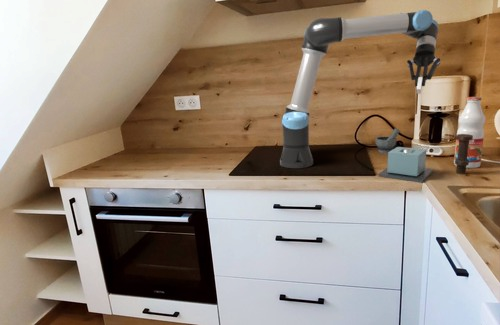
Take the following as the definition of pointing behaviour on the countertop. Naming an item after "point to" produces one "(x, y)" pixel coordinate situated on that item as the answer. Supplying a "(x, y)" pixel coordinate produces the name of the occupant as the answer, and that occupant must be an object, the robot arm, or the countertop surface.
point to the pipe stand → (419, 178)
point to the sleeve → (406, 161)
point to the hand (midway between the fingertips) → (418, 91)
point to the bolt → (462, 153)
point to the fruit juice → (472, 131)
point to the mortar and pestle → (387, 142)
